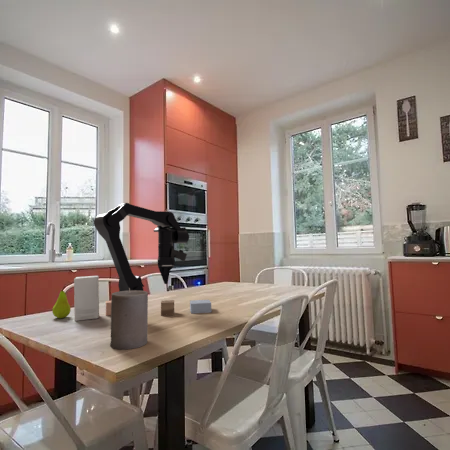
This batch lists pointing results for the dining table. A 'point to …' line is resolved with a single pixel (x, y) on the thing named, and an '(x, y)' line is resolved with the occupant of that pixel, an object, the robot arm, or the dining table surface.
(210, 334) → the dining table surface
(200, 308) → the slate slab
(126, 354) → the dining table surface
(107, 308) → the terracotta cube
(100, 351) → the dining table surface
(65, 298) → the fruit
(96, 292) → the skincare box
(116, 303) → the pillar candle
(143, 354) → the dining table surface
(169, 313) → the walnut cube
